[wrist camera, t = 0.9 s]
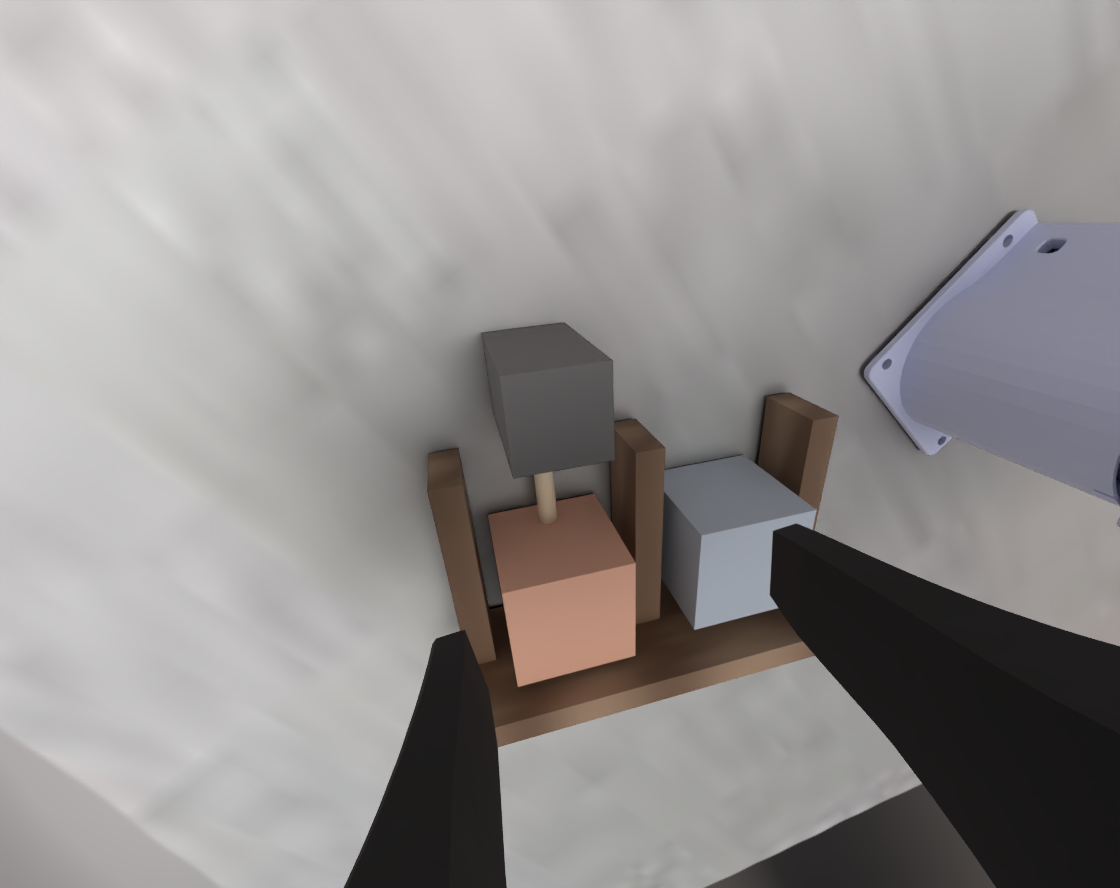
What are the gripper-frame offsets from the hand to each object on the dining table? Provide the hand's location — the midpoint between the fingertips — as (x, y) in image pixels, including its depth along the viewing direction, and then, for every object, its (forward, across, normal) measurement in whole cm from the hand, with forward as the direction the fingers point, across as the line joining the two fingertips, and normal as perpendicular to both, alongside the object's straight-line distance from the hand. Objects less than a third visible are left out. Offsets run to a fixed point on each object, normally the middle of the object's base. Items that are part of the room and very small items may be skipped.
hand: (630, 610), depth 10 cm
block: (+10, -7, +6) cm, 14 cm away
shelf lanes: (+10, -3, +5) cm, 12 cm away
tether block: (+10, 0, +2) cm, 11 cm away
